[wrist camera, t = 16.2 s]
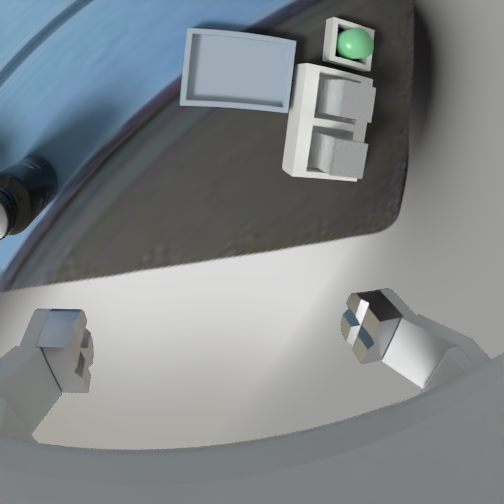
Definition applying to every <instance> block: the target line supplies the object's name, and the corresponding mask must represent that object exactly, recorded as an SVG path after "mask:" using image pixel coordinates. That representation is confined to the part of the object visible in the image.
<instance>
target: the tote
mask: <svg viewBox="0 0 504 504" xmlns="http://www.w3.org/2000/svg"><path fill="white" fill-rule="evenodd" d="M295 48H296V41H293V40H288V39H283V38H277V37H271V36H265V35H258V34H251V33H243V32H234V31H225V30H213V29H197V28H188V29H187V34H186V43H185V52H184V61H183V71H182V82H181V94H180V105H181V106H211V107H229V108H242V109H254V110H264V111H274V112H282V113H288V108H289V100H290V91H291V83H292V75H293V66H294V57H295Z"/></svg>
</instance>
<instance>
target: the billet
mask: <svg viewBox="0 0 504 504" xmlns="http://www.w3.org/2000/svg"><path fill="white" fill-rule="evenodd" d="M375 93H376V88H374V87H370V86H367V85H363V84H360V83H356V82H352V81H348V80H319V82H318V90H317V98H316V106H315V112H320V113H324V114H327V115H332V116H337V117H342V118H346V119H351V120H356V121H358V120H360V121H365V122H369V123H371V120H372V114H373V107H374V100H375Z"/></svg>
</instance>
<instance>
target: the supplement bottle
mask: <svg viewBox="0 0 504 504" xmlns="http://www.w3.org/2000/svg"><path fill="white" fill-rule="evenodd" d="M56 189H57V178H56V174H55V171H54V169H53V168H52V166H51V165H50V164H49V163H48V162H47V161H46V160H44V159H42V158H40V157H29V158H26V159H24V160H22V161H20V162H18V163H16V164H14V165H12V166H11V167H9V168H7V169H5V170H4V171H2V172H0V240H1V239H3V238H5V237H6V235H15V234H18V233H20V232H22V231H23V230H24V229H26V228H27V227H28V226H29V224H30V223H31V222H32V221H33V220H34V219H35V218H36V217H37V216H38V215H39V214H40V213H41V212H42V211H43V210H44V209H45V208H46V207H47V205H48V204H49V203H50V202H51V201H52V199H53V198H54V196H55V193H56Z"/></svg>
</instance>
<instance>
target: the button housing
mask: <svg viewBox="0 0 504 504" xmlns="http://www.w3.org/2000/svg"><path fill="white" fill-rule="evenodd" d="M338 28H341V29H344V30H349V29H353V28H361V29H363V30H365V31H367V32H368V33H369V34H370V36H371V37H372V39H373V41H374V30H372V29H369V28H366V27H363V26H361V25H358V24H355V23H352V22H349V21H345V20H342V19H339V18H336V17H332V18H329V19H327V20H326V29H325V38H324V48H323V57H322V61H324V62H328V63H332V64H336V65H340V66H344V67H348V68H352V69H355V70H359V71H370V70H371V61H372V54H371V55H370V56H369V57H367V58H360V59H359V63H358V62H355V61H351V60H348V59H344V58H340V57H336V56H335V52H336V42H337V33H338Z"/></svg>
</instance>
